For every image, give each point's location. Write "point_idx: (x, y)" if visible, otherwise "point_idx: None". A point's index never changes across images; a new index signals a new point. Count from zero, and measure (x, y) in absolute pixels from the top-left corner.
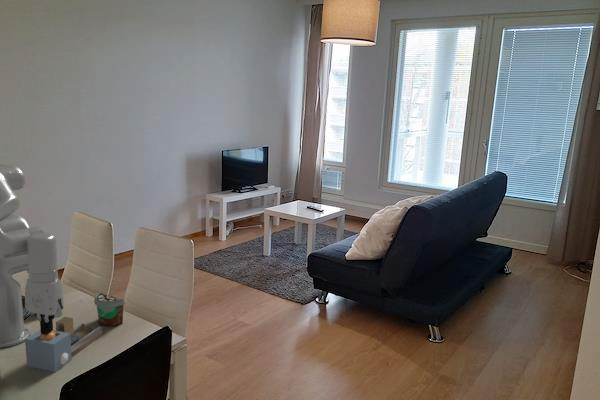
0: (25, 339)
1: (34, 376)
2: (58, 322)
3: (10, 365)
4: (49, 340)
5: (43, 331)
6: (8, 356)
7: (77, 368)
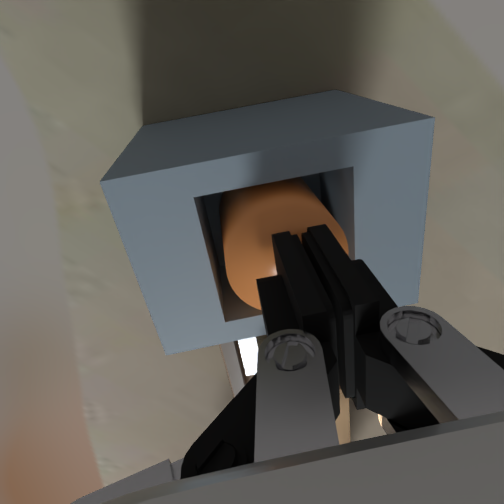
0: (425, 118)
1: (205, 26)
2: None
3: (428, 46)
4: (230, 222)
5: (302, 245)
6: (500, 110)
7: (79, 209)
